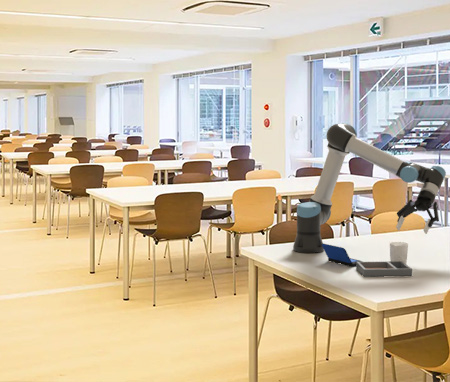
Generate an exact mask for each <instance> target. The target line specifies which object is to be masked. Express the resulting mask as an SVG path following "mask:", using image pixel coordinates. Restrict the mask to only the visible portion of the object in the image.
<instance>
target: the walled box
mask: <svg viewBox="0 0 450 382" xmlns="http://www.w3.org/2000/svg"><path fill="white" fill-rule="evenodd" d="M355 268H356V270H357V271H358V272H359V274H360V275H361V276H362V275H363V276H364V277H363V278H385V277H384V276H412V277H413V268H412V267H410V266H409V265H407V263H406V264H405V263H404V262H402V261H391V260H390V261H386V260H385V261H384V260H383V261H382V260H381V261H380V260H379V261H377V260H376V261H363V262H356V266H355Z"/></svg>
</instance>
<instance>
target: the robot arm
mask: <svg viewBox="0 0 450 382" xmlns="http://www.w3.org/2000/svg"><path fill="white" fill-rule="evenodd" d="M326 141H327V143H328V144H327V145H326V147H327V149H328V152H327V155H326V158H325V162H324V164H323V168H322V171H321V174H320V175H319V180H318V183H317V186H316V188H315V189H316V190H315V192H314V194H313V195H311V196H310V197H309V200H308V201H305V202H301V203H299V204H298V205H297V206H296V207H297V208H296V236H295V239H294V243H293V246H292V247H293V251H294V250H295V251H294V252H296V251H297V253H301V252H304V253H303V254H314V253H315V252H318V253H322V252H325V251H324V249H323V247H322V244H324V243H323V239H322V236H321V235H322V234H321V226H322V225H324V224H326V223H327V222H328V220H329V219H330V218H331V214H332V211H331V209H332V206H333V202H332V197H333V194H334V191H335V188H336V185H337V182H338V178H339V175H340V172H341V169H342V167H343V163H344V160H345V159H346V156H347V155H349V154H352V155H355V156H357V157H359V158H361V159H362V160H365V161H367V162H369V163H371V164H373V165H375V166H376V167H379V168H381V170H382V169H383V170H384V171H386V172H388V173H390V174H392V175H394V176H396V177H398V178H400V179H401V180H402V181H403V182H404V183H409V184H412V183H414V182H415V181H416V182H419V183H421V184H422V186H421V187H420V188H421V189H420V191H419V193H418V195H417V198H416V200H415V201H413V200H412V199H410V200H409V201H408V202H407V203H406V204H405V205H404V206H403V207H402V208H401V209H400V210H398V211H397V212H396V216H397V217H398V218H397V220H396V222H397V224H396V226H395V227H396V229H397V231H401V228H402V226H403V224H404V222H405V221H406V220H405V218H406V217H408V216H410V215H411V214H413V213H414V212H417V211H418V212H427V214H428V216H429V218H428V219H427V221H426V223H425V226H424V228H423V232H424V233H425V235H426V234H428V232H429V230H430V228H432V227H433V225H434V223H435V222H440V216H439V211H438V209H439V204H438V202H437V201H435V199H436V198H437V195H438V193H439V191H440V189H441V186H442V184H443V182H444V180H445V177H446V174H447V172H446V170H445V168H443V167H442V166H441V165H432V166H431V167H425V166H422V165H421V164H417V163H415V162H412V161H403V160H402V159H400V158H398V157H396V156H394V155H392V154H390V153H388V152H387V151H384V150H382V149H380V148H378V147H377V146H374V145H372V144H370V143H368V142H367V141H364V140H362V139H360V138H358V133H357V130H356V129H355V127H354V126H352V125H351V124H349V123H343V122H342V123H335V124H333V125H331V126H330V127H329V128H328V129H327V132H326ZM431 208H433V214H434V216H433V215H432V212H431V210H430V209H431ZM315 254H316V253H315Z"/></svg>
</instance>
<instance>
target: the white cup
mask: <svg viewBox="0 0 450 382" xmlns="http://www.w3.org/2000/svg"><path fill="white" fill-rule="evenodd" d="M408 251H409V243H407V242H404V241H402V242H401V241H391V242H389V258H390V259H389V260H390V261H402V262H404V263H405V264H406V265H407V260H408Z"/></svg>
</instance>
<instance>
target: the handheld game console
mask: <svg viewBox="0 0 450 382" xmlns="http://www.w3.org/2000/svg"><path fill="white" fill-rule="evenodd" d="M322 247H323V249H324V251H323V252H325V255H326V257H327V259H328V260H327V261H328V262H329V261H331V262H330V263H333V262H335V264H338V263H341V264H342V266H345V267H349V268H353V267H356V262H364V261H362V260H359V259H356V258H355V259H354V258H351V257H350V256H349V254H348V252H347V250H346V249H345V248H344V247H341V246H336V245H332V244H327V243H323V244H322ZM341 264H340V265H341Z"/></svg>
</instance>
